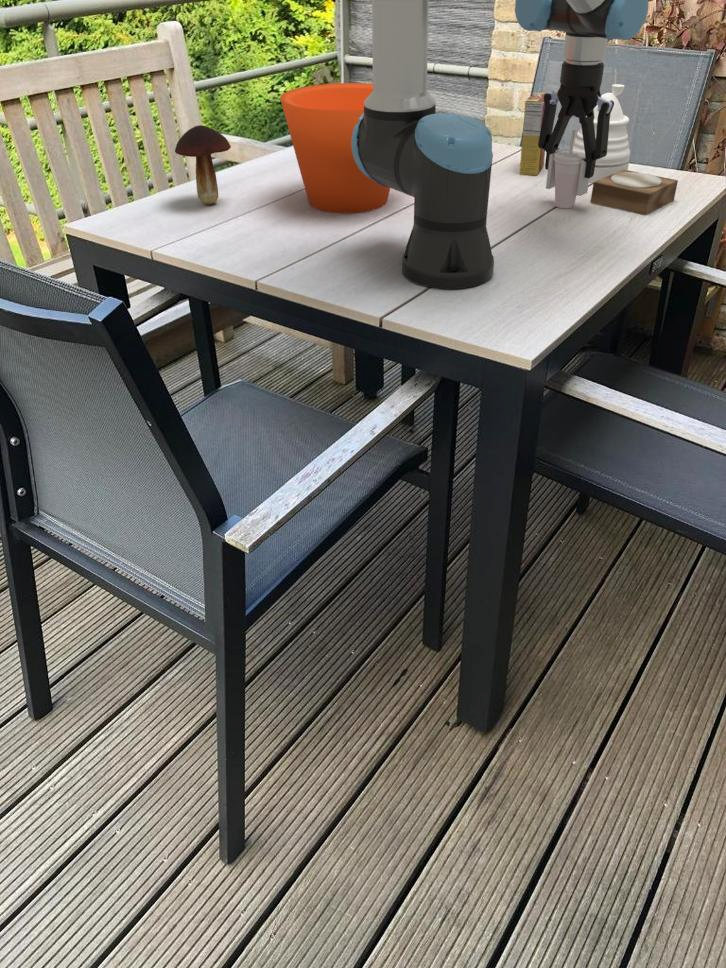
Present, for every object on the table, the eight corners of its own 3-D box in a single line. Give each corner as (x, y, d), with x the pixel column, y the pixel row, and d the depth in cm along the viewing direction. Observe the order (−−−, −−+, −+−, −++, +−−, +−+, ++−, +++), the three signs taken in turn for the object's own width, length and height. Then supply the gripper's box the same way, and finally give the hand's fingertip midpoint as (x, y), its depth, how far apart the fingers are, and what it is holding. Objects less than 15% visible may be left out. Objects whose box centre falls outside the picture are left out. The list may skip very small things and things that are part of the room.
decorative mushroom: (188, 215, 162) (177, 134, 153) (177, 199, 170) (166, 122, 162) (242, 208, 165) (234, 128, 157) (228, 193, 174) (220, 116, 165)
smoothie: (578, 200, 167) (589, 127, 159) (582, 210, 162) (593, 135, 154) (546, 200, 168) (555, 126, 159) (549, 210, 162) (558, 135, 154)
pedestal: (645, 215, 159) (649, 192, 157) (590, 202, 166) (593, 180, 163) (673, 200, 166) (678, 178, 164) (619, 189, 173) (623, 167, 170)
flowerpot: (267, 214, 162) (259, 106, 150) (311, 179, 181) (307, 80, 170) (390, 225, 156) (391, 113, 144) (421, 187, 175) (425, 86, 164)
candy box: (525, 164, 189) (532, 91, 180) (544, 165, 188) (552, 92, 179) (517, 174, 182) (524, 100, 173) (537, 176, 181) (545, 101, 172)
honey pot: (608, 165, 188) (622, 78, 177) (637, 180, 178) (654, 90, 167) (556, 169, 185) (567, 82, 175) (583, 186, 175) (596, 94, 165)
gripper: (642, 64, 146) (619, 195, 160) (549, 52, 157) (535, 177, 170) (621, 70, 142) (600, 205, 155) (526, 58, 152) (514, 185, 166)
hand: (566, 190), depth 163 cm, fingers closed on smoothie, 6 cm apart
